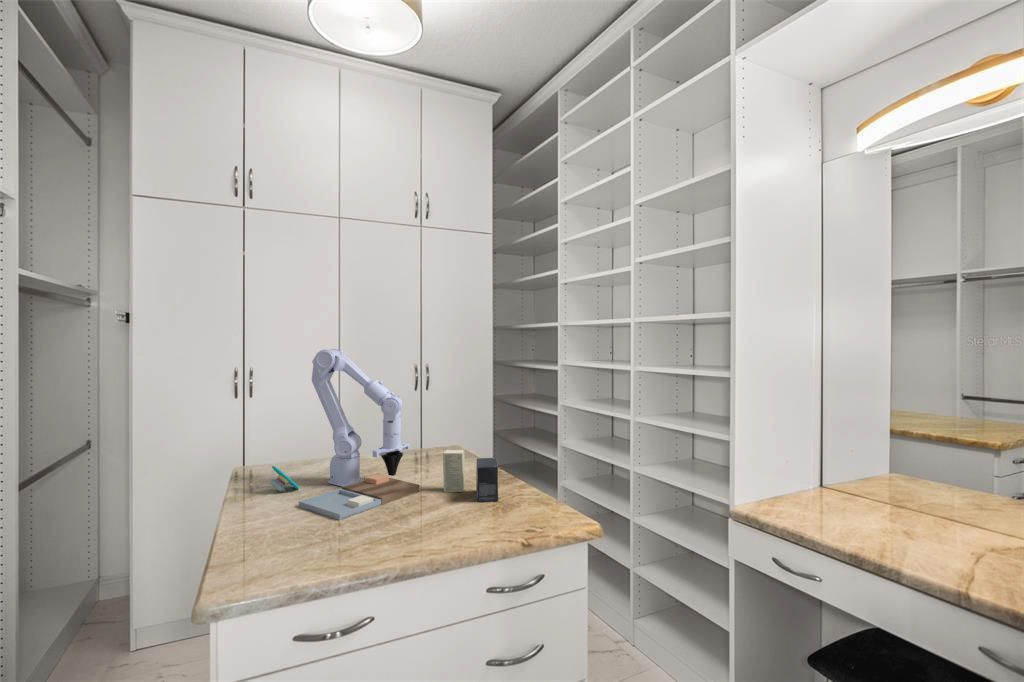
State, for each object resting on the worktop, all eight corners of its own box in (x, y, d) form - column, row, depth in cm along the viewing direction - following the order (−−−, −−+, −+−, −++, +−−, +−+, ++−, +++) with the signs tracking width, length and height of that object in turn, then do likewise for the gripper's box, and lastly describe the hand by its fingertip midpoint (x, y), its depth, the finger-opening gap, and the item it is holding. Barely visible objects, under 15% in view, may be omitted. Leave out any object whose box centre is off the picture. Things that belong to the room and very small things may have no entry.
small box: (475, 491, 156) (476, 457, 156) (496, 490, 157) (497, 457, 156) (476, 502, 145) (476, 466, 145) (498, 502, 146) (499, 466, 146)
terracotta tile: (365, 481, 158) (365, 477, 158) (377, 478, 162) (377, 473, 162) (376, 484, 155) (376, 479, 155) (388, 480, 160) (388, 476, 159)
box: (298, 506, 141) (298, 501, 141) (340, 493, 153) (340, 488, 153) (339, 520, 131) (339, 514, 131) (381, 505, 143) (381, 499, 143)
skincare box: (465, 488, 159) (465, 449, 159) (463, 492, 154) (463, 453, 154) (445, 487, 159) (445, 449, 159) (442, 492, 155) (442, 452, 155)
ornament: (262, 477, 158) (261, 475, 149) (273, 465, 160) (273, 463, 151) (288, 499, 159) (289, 499, 150) (299, 488, 161) (300, 487, 152)
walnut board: (341, 493, 153) (341, 486, 153) (379, 481, 166) (379, 475, 165) (382, 504, 143) (382, 497, 143) (419, 491, 155) (419, 484, 155)
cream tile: (347, 505, 142) (347, 499, 142) (361, 500, 146) (361, 495, 146) (359, 508, 139) (358, 503, 139) (373, 503, 143) (373, 498, 143)
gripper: (383, 438, 156) (383, 482, 156) (416, 431, 168) (416, 471, 168) (368, 435, 159) (368, 478, 160) (401, 428, 172) (401, 468, 172)
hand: (391, 474), depth 164 cm, fingers closed
